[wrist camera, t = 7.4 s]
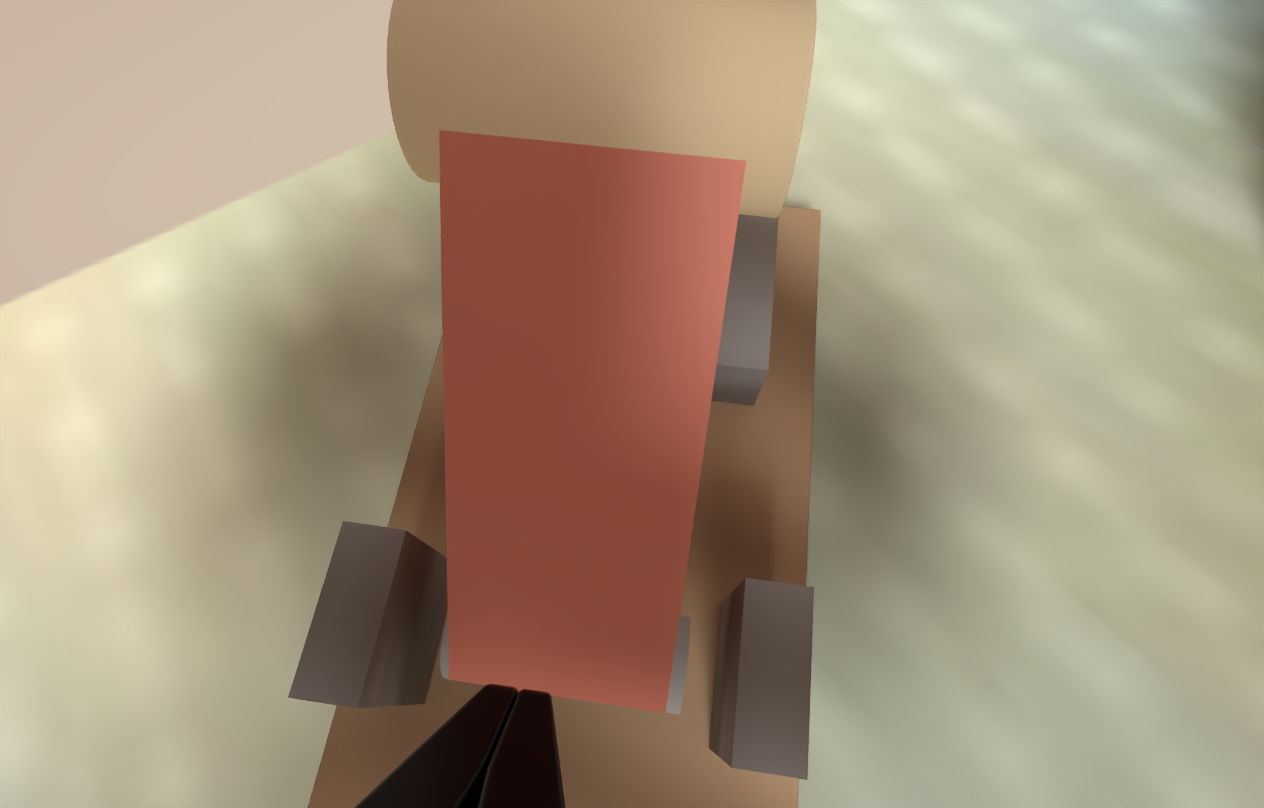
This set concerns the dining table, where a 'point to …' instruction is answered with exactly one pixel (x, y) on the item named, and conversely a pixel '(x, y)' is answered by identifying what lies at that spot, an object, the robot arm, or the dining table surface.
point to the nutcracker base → (712, 597)
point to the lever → (587, 306)
